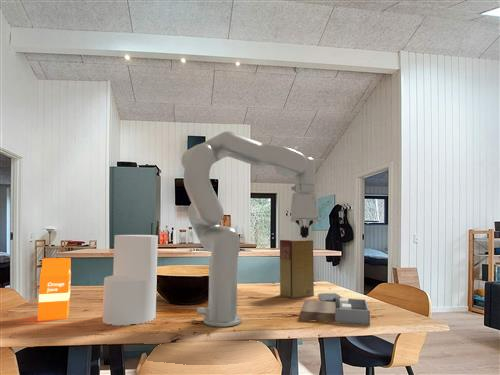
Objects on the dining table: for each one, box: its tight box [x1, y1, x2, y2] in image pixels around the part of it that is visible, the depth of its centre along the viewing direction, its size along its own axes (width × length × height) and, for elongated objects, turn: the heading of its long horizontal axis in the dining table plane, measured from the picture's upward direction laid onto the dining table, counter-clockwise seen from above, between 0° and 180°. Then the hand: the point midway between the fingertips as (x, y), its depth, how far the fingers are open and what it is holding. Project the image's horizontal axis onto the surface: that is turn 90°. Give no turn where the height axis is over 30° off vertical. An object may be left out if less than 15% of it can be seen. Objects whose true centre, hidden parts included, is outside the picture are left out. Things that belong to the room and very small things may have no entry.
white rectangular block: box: [342, 304, 351, 309], centre depth 127 cm, size 4×4×3 cm
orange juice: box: [37, 257, 72, 322], centre depth 129 cm, size 8×9×20 cm
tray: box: [335, 298, 371, 326], centre depth 131 cm, size 11×18×4 cm, turn 167°
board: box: [300, 300, 336, 323], centre depth 134 cm, size 12×18×3 cm, turn 167°
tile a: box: [340, 297, 349, 309], centre depth 137 cm, size 4×4×3 cm
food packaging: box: [279, 238, 315, 299], centre depth 169 cm, size 13×9×25 cm
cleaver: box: [317, 292, 343, 302], centre depth 158 cm, size 30×10×2 cm, turn 0°
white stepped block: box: [102, 234, 159, 326], centre depth 128 cm, size 17×17×28 cm
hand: (304, 237), depth 141 cm, fingers closed
